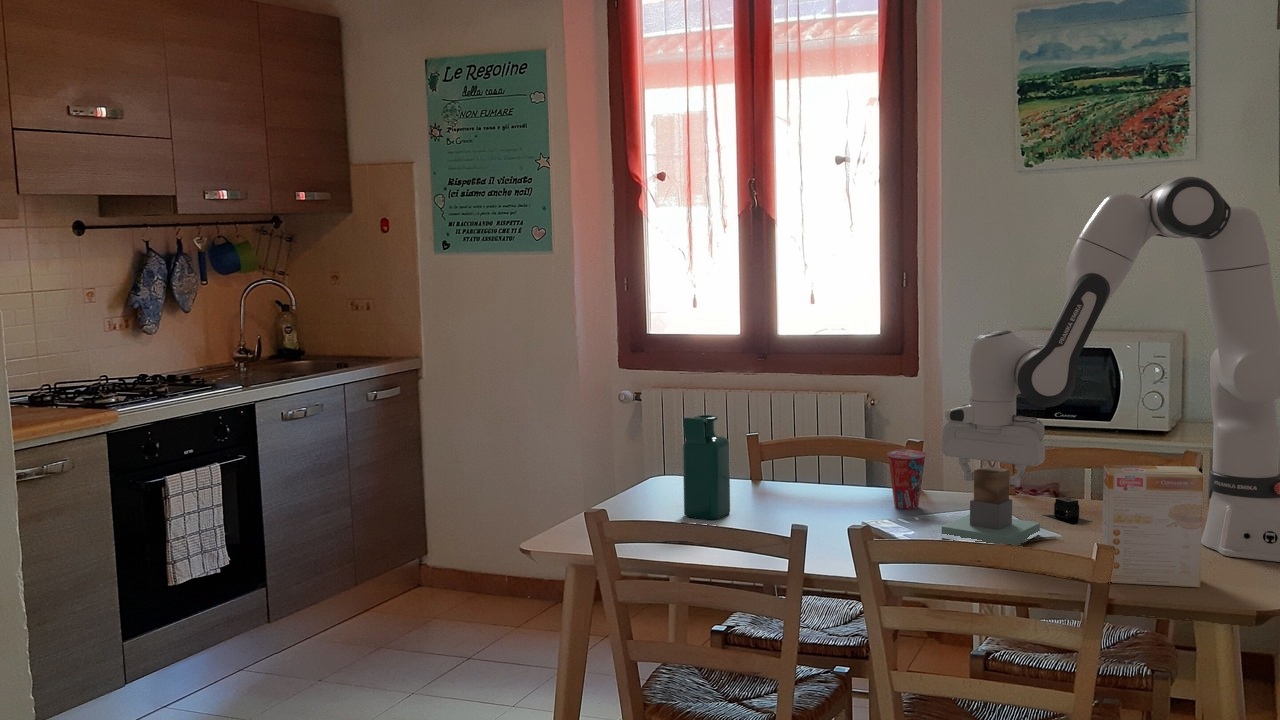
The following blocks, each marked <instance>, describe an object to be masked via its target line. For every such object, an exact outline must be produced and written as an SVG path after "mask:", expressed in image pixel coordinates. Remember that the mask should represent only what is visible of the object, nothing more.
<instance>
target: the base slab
mask: <svg viewBox="0 0 1280 720" xmlns="http://www.w3.org/2000/svg"><path fill="white" fill-rule="evenodd" d="M1040 528H1041V522H1038V521H1037V522H1036V521H1029V520H1023V519H1017V518H1016V519H1015V518H1012V524H1011V525H1009V526H1006V527H1004V528H1002V529H1000V530H995V529H989V528H983V527H977V526H970V514H968V515H965V516H963V517H960V518H958V519H955V520H953V521H951V522H949V523H947V524H943V525H942V526H941V535H942V534H947V535H948V534H949V535H954V536H960V537H961V538H971V539H977V540H982V541H975V542H986V543H1003V544H1011V545H1019V546H1021V545H1022V544H1020V543H1023V544H1025V543H1024V541H1025V539H1027V538H1028V537H1029V536H1030V535H1032V534H1034V533H1036V532H1038V531H1041V530H1040Z"/></svg>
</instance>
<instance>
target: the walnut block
mask: <svg viewBox="0 0 1280 720" xmlns="http://www.w3.org/2000/svg"><path fill="white" fill-rule="evenodd" d="M973 471H974V480H973V499H974V501H980V502H987V503H994V504H999V503H1002V502H1004V501H1006V500H1009V499H1010V469H1009V468H1001V467H993V466H983V467H981V468H977V469H975V470H973Z"/></svg>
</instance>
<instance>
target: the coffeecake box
mask: <svg viewBox="0 0 1280 720" xmlns="http://www.w3.org/2000/svg"><path fill="white" fill-rule="evenodd" d="M1102 476H1103V477H1102V478H1103V484H1102V487H1103V488H1102V489H1103V490H1102V530H1101V531H1102V533H1101V534H1102V537H1101V538H1102V540H1101V544H1105V545H1113V546H1115V560H1114V568H1113V576H1112V583H1111V584H1124V585H1125V584H1127V585H1128V584H1129V585H1142V586H1143V585H1144V586H1145V585H1146V586H1163V587H1164V586H1165V587H1166V586H1167V587H1184V588H1186V587H1187V588H1200V587H1201V573H1202V572H1201V571H1202V543H1201V538H1202V535H1203V531H1202V528H1203V497H1204V496H1203V493H1204V492H1203V491H1204V489H1203V487H1204V474H1203V473H1202V472H1201V471H1199V470H1198V468H1197V466H1180V465H1179V466H1176V465H1175V466H1173V465H1171V466H1170V465H1169V466H1167V465H1165V466H1164V465H1134V464H1133V465H1131V464H1130V465H1125V464H1122V465H1119V464H1104V465H1103V475H1102Z"/></svg>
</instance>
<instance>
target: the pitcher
mask: <svg viewBox="0 0 1280 720" xmlns="http://www.w3.org/2000/svg"><path fill="white" fill-rule="evenodd" d="M718 420H719V417H718V416H717V415H713V414H700V415H696V416H694V417H684V418H683V431H684V432H683V433H684V439H685V440H684V442H683V444H682V460H683V461H682V465H683V466H682V467H683V469H682V470H683V472H682V473H683V474H682V475H683V514H684V516H685V517H686V518H690V519H699V520H707V521H716V520H719V519H721V518H723V517H725V516H727V515H729V514H730V512H731V484H730V480H731V477H730V473H731V472H730V471H731V469H730V466H731V465H730V443H729V440H728V439H727V438H726V437H724V436H722V435H716V433H715V421H718Z"/></svg>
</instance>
